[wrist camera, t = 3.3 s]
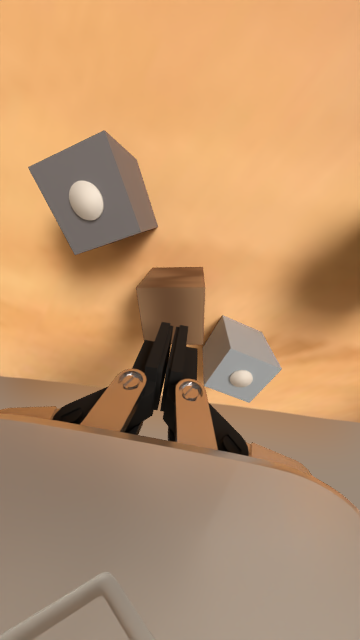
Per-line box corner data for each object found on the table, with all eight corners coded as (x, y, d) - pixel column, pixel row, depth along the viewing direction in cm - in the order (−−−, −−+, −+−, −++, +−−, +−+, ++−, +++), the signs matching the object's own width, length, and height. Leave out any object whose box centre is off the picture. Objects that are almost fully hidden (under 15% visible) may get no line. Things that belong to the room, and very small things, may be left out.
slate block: (261, 331, 22) (282, 370, 16) (238, 361, 24) (249, 404, 19) (222, 315, 21) (231, 349, 16) (202, 347, 23) (203, 387, 18)
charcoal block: (136, 159, 15) (102, 128, 10) (158, 226, 17) (140, 232, 12) (83, 182, 16) (25, 166, 11) (109, 243, 18) (73, 255, 13)
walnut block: (202, 267, 19) (205, 287, 13) (201, 312, 21) (203, 344, 16) (152, 267, 19) (136, 287, 14) (157, 312, 22) (144, 343, 16)
